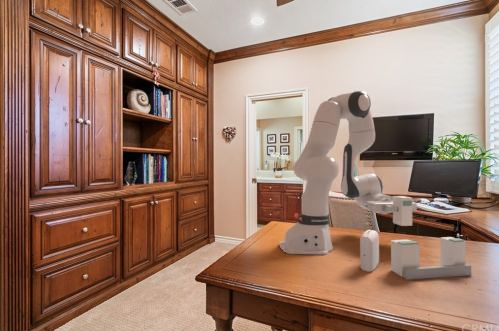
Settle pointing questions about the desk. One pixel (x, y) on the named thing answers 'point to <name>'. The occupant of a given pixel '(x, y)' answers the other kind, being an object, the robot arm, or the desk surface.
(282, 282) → the desk surface
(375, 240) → the photo printer
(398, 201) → the block
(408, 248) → the din mount
